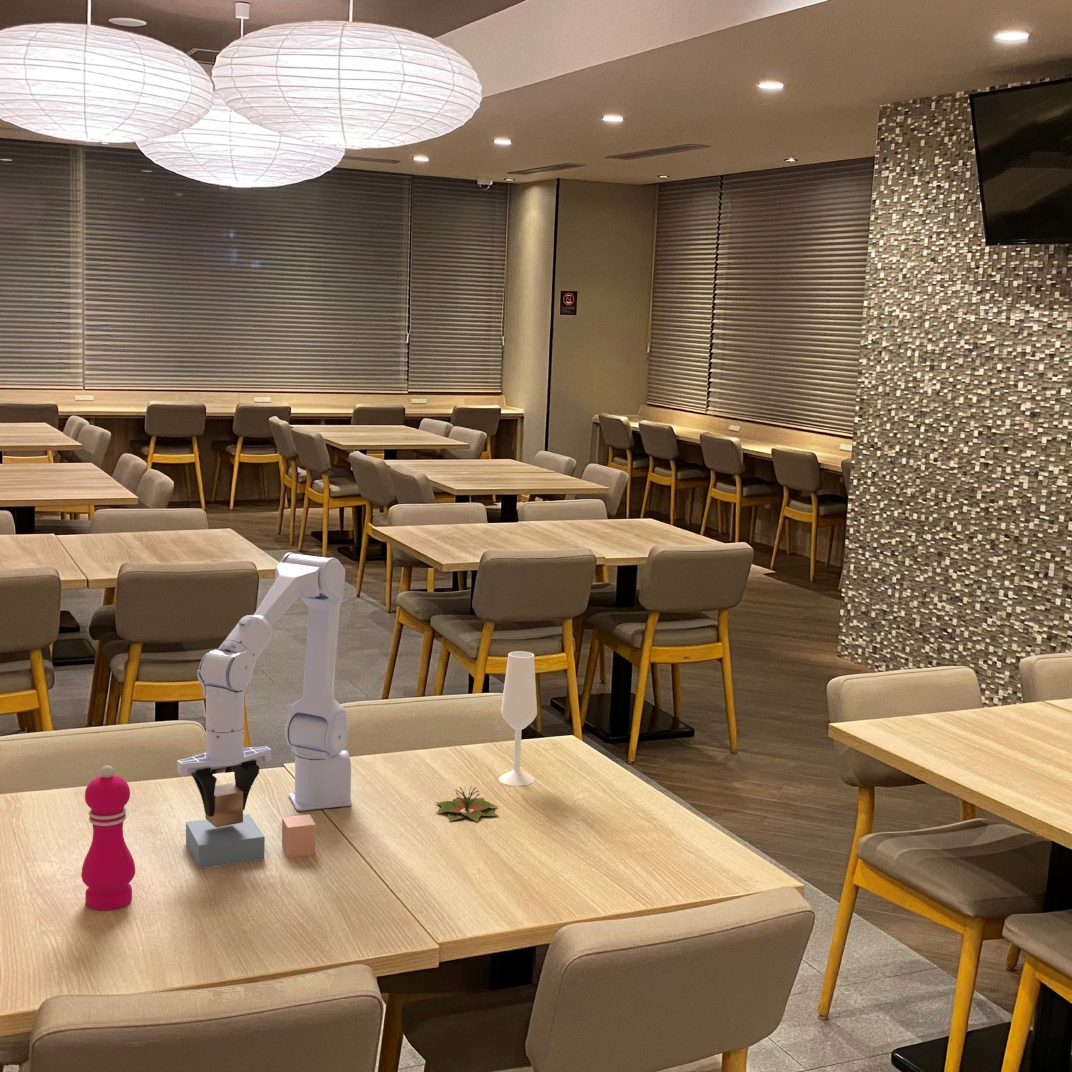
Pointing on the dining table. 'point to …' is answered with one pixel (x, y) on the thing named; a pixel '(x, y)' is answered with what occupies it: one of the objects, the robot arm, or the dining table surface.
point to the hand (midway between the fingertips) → (224, 811)
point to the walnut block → (227, 806)
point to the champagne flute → (519, 707)
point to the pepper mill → (108, 844)
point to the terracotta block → (298, 835)
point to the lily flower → (467, 807)
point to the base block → (224, 842)
